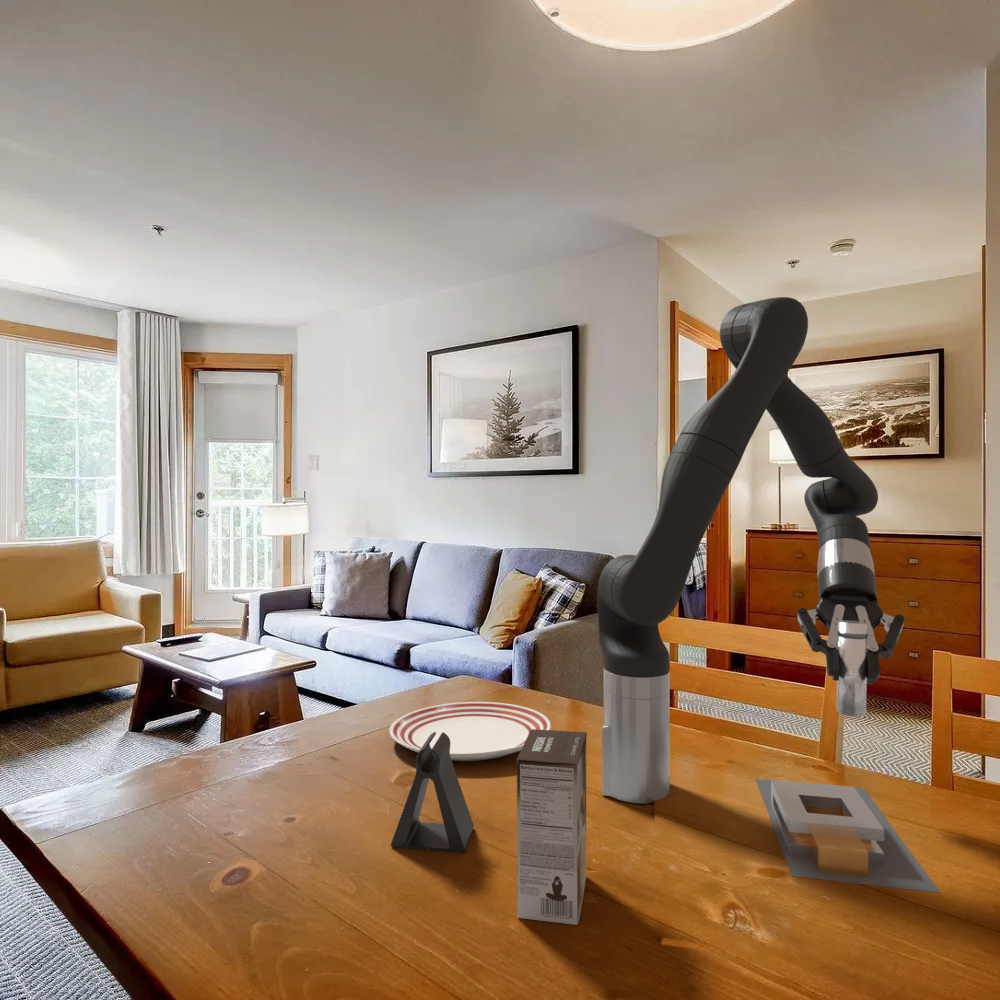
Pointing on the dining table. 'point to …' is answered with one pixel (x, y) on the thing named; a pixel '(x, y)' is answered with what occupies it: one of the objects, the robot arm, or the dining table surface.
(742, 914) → the dining table surface
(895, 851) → the mat
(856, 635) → the pin
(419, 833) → the dark triangular stand
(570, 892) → the coffee box
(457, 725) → the dinner plate
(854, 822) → the clevis
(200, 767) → the dining table surface
